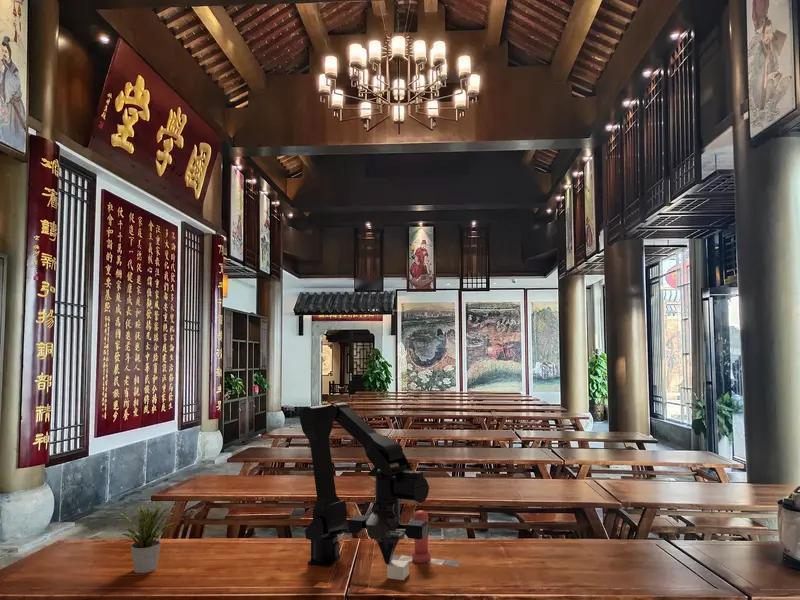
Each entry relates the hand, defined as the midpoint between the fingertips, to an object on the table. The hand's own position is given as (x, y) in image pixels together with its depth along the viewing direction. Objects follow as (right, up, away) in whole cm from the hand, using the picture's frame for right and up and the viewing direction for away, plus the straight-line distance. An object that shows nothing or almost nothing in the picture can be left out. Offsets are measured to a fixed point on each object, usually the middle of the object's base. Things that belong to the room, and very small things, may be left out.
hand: (387, 563), depth 147 cm
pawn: (+8, -3, +10) cm, 13 cm away
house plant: (-59, -5, +8) cm, 60 cm away
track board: (+8, -4, +10) cm, 13 cm away
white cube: (+2, -4, -1) cm, 5 cm away
